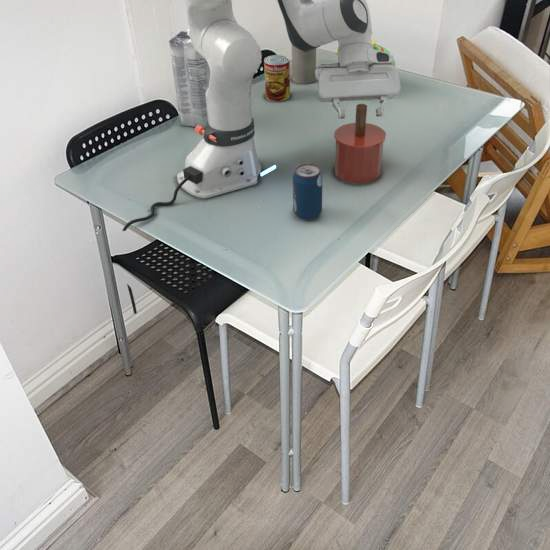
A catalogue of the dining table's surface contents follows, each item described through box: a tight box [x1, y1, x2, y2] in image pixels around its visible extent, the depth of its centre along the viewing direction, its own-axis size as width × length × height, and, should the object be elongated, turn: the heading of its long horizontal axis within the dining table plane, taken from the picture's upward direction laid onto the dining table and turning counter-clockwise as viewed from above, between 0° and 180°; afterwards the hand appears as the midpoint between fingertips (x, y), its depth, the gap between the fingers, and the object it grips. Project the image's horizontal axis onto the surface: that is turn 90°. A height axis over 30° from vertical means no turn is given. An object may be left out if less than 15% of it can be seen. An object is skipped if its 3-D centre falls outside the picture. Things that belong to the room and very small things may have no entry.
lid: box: [333, 103, 387, 149], centre depth 154 cm, size 13×13×9 cm
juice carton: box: [168, 28, 210, 128], centre depth 179 cm, size 9×10×27 cm
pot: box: [334, 140, 384, 184], centre depth 159 cm, size 12×12×10 cm
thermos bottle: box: [291, 0, 317, 85], centre depth 201 cm, size 8×8×28 cm
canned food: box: [263, 54, 291, 103], centre depth 196 cm, size 8×8×12 cm
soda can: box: [292, 163, 324, 221], centre depth 145 cm, size 7×7×12 cm
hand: (360, 116), depth 152 cm, fingers open, 8 cm apart
